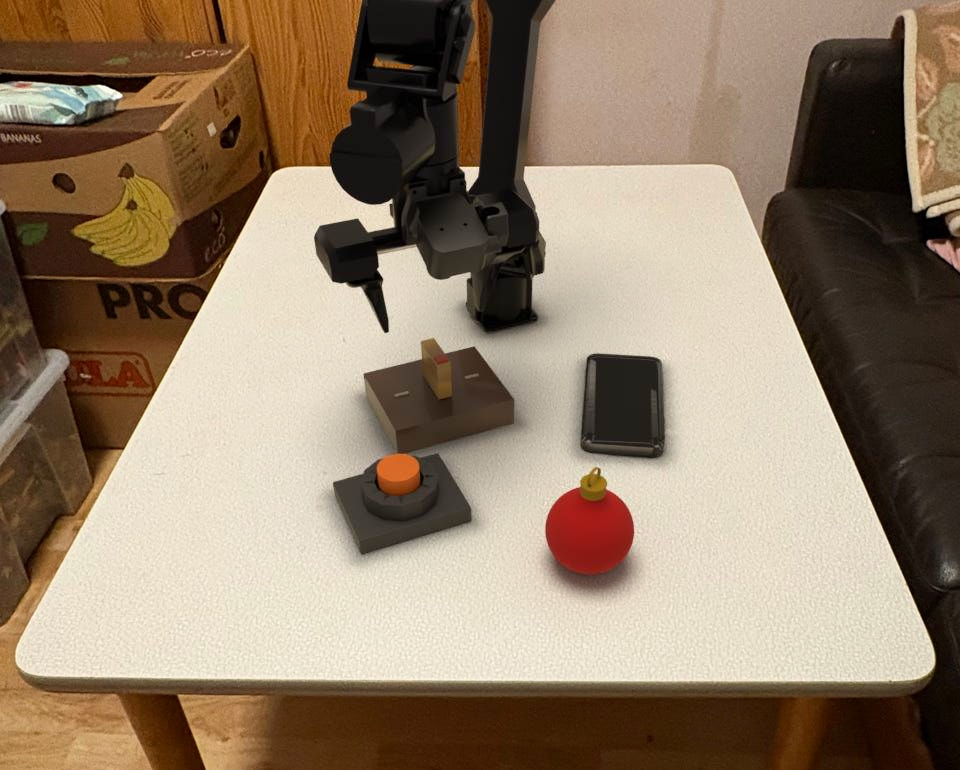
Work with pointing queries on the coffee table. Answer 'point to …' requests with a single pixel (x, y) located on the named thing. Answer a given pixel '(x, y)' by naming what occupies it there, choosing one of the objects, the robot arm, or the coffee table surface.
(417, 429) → the plate
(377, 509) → the block
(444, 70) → the robot arm
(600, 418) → the phone
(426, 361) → the lock knob
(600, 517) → the christmas ornament
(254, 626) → the coffee table surface
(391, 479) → the bell button
